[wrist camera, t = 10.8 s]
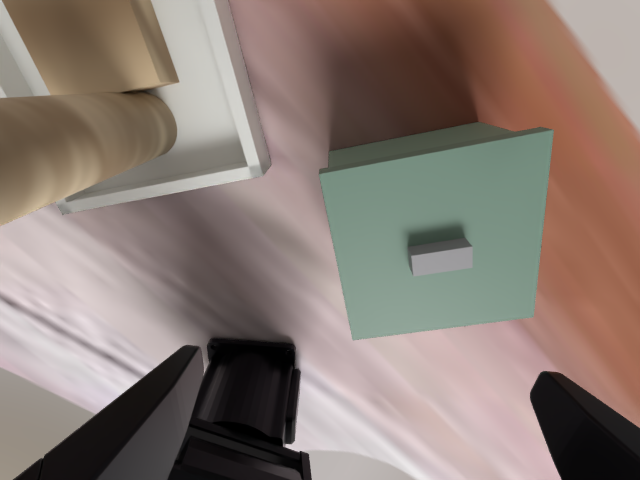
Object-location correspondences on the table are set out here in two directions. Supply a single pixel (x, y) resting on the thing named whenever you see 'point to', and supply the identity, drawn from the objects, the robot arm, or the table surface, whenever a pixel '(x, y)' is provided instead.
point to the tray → (173, 107)
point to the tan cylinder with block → (83, 100)
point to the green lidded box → (438, 227)
